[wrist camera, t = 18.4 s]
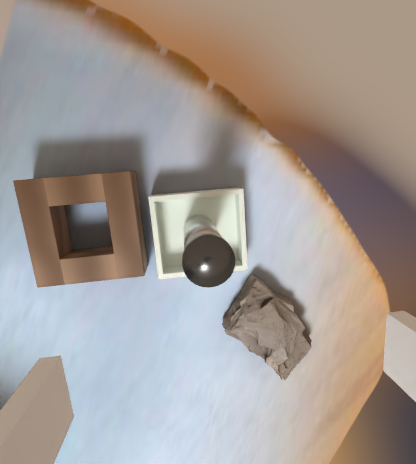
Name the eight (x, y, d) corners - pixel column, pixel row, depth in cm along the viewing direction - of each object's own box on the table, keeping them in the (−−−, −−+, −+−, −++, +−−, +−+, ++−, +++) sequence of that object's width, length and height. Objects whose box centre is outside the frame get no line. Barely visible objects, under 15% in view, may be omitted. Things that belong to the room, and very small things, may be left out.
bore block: (53, 274, 36) (37, 287, 32) (32, 179, 33) (13, 180, 29) (148, 264, 37) (144, 276, 33) (135, 171, 34) (129, 171, 30)
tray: (160, 270, 37) (158, 279, 34) (151, 194, 35) (148, 197, 32) (242, 262, 38) (247, 269, 35) (238, 187, 36) (243, 188, 33)
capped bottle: (183, 248, 36) (184, 290, 23) (180, 214, 35) (179, 238, 22) (217, 245, 36) (236, 284, 24) (214, 211, 35) (233, 233, 23)
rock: (319, 325, 41) (333, 341, 38) (276, 368, 42) (285, 387, 38) (255, 267, 39) (263, 278, 35) (210, 314, 39) (213, 330, 36)
